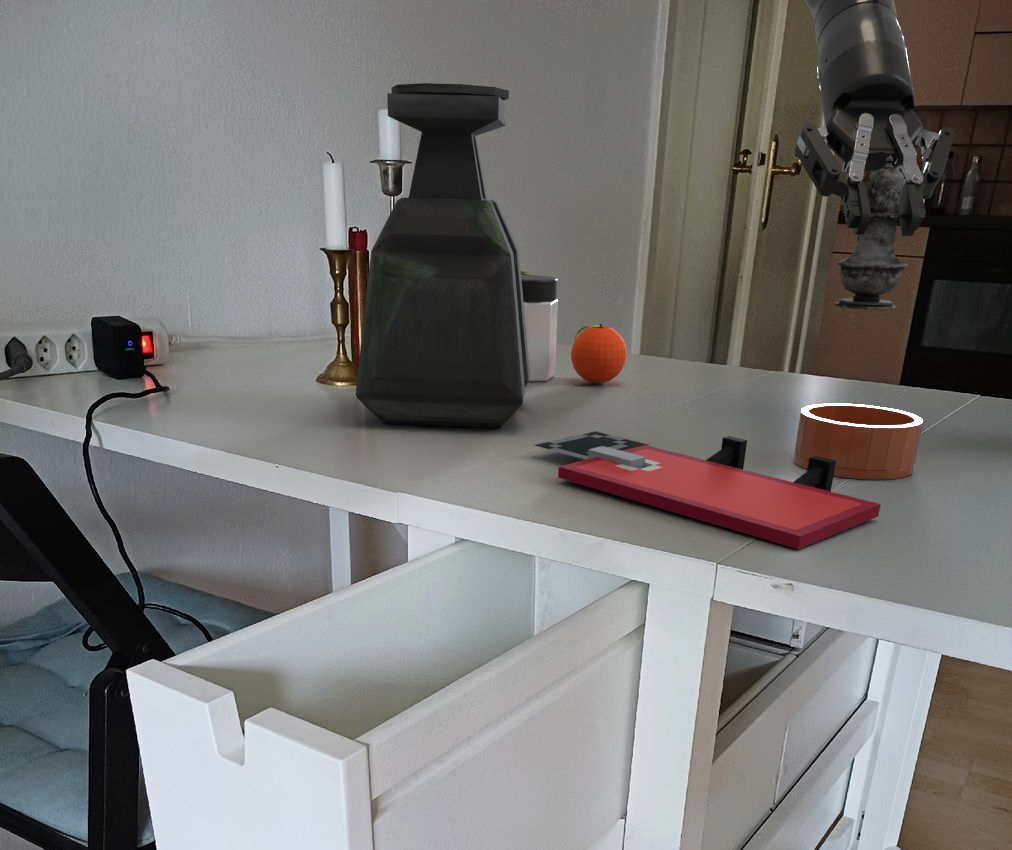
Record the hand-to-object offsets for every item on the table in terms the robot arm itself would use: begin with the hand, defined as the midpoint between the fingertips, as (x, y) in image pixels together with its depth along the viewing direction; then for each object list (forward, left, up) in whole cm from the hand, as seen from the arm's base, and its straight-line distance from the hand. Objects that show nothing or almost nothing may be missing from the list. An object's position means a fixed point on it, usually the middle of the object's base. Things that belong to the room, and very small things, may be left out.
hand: (887, 227), depth 85 cm
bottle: (+37, -17, -20) cm, 45 cm away
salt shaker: (0, -2, -7) cm, 7 cm away
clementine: (+19, -39, -20) cm, 48 cm away
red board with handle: (+17, +11, -20) cm, 28 cm away
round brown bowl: (0, +2, -20) cm, 20 cm away
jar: (+28, -42, -20) cm, 54 cm away
